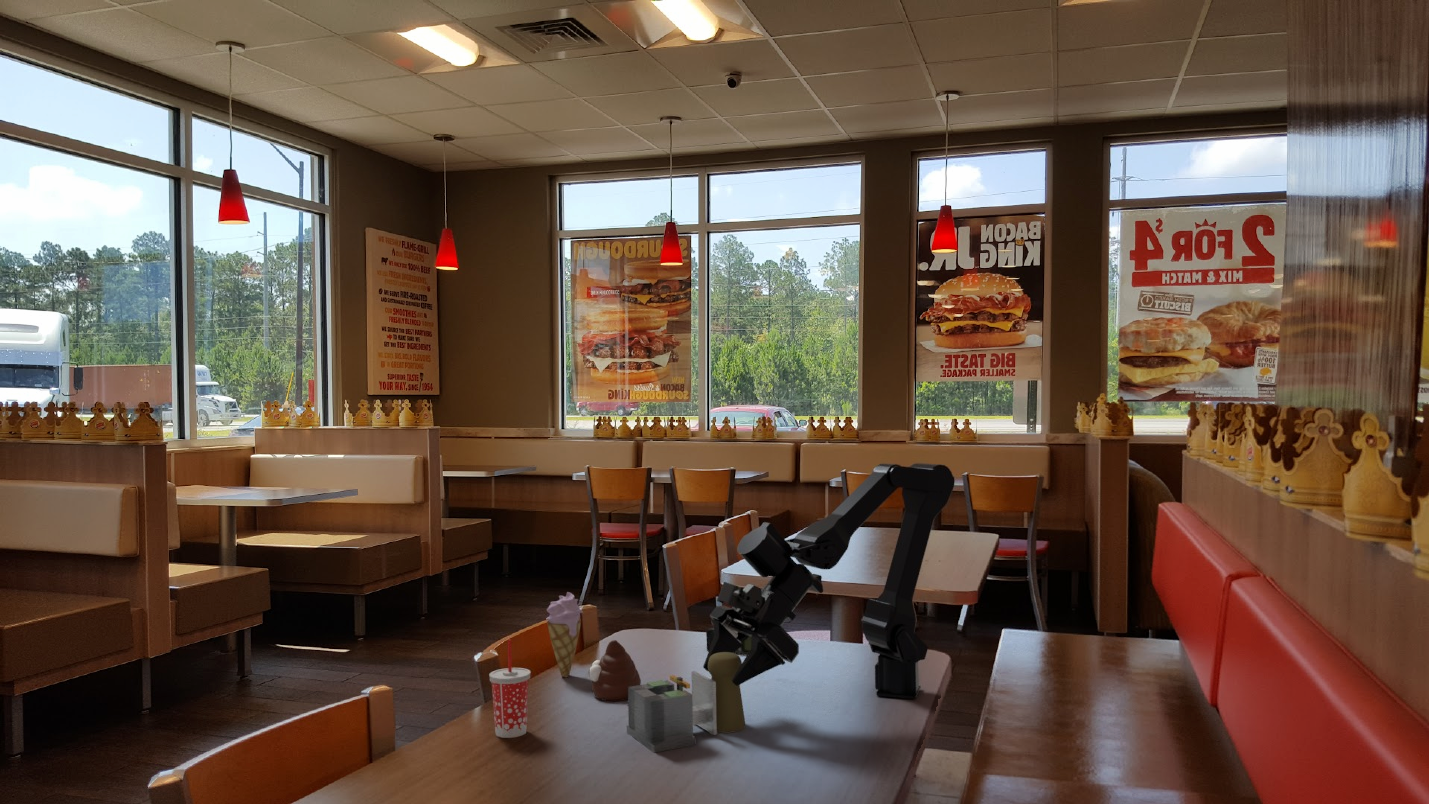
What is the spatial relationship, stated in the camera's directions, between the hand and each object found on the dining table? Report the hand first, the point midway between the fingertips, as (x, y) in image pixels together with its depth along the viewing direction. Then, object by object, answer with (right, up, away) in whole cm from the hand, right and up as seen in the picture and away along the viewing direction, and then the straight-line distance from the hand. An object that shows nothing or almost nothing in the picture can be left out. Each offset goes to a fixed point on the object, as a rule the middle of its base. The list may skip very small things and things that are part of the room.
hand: (719, 676), depth 150 cm
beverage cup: (-31, -8, -1) cm, 33 cm away
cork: (+1, -8, 0) cm, 8 cm away
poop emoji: (-18, -8, +19) cm, 27 cm away
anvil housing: (-8, -8, -4) cm, 12 cm away
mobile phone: (+5, -8, +45) cm, 46 cm away
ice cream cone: (-28, -8, +30) cm, 41 cm away
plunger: (-4, -7, -2) cm, 9 cm away
